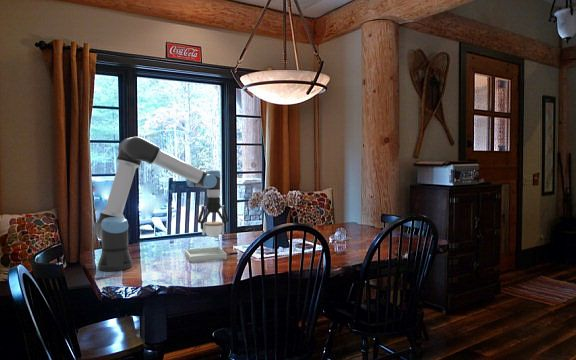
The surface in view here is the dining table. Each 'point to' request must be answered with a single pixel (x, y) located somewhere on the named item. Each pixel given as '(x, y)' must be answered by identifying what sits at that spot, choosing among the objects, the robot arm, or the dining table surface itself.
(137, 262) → the dining table surface
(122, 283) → the dining table surface
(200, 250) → the sage bin
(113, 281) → the dining table surface
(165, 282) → the dining table surface
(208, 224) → the lidded jar
